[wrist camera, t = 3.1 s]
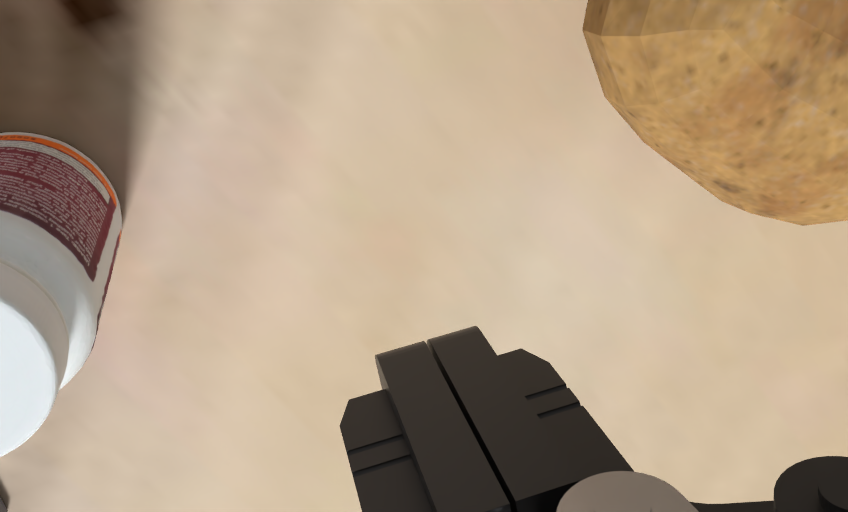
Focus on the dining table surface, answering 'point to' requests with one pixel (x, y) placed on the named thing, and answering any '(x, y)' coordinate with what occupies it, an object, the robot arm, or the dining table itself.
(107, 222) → the pill bottle
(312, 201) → the dining table surface
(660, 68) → the potato
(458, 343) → the robot arm
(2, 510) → the mat
